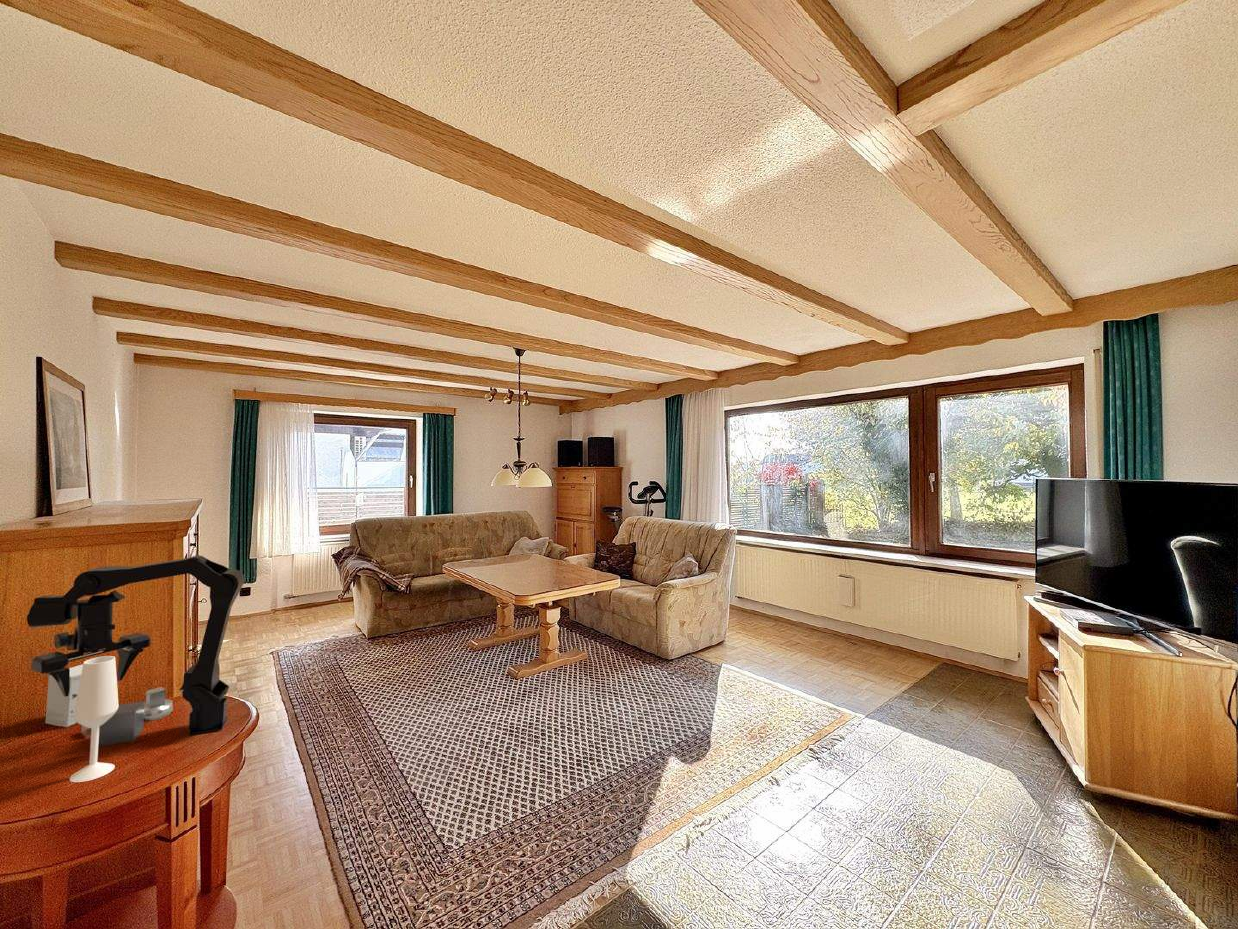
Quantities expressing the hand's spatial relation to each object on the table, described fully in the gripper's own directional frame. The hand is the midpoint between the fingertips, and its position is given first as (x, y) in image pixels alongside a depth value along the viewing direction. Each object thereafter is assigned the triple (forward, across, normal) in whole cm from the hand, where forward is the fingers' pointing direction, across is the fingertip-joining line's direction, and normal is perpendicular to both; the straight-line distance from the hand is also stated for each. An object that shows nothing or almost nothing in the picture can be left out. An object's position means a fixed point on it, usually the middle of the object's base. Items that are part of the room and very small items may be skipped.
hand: (93, 688), depth 116 cm
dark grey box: (+13, -4, +2) cm, 14 cm away
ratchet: (+13, -9, -5) cm, 17 cm away
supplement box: (+13, -4, -19) cm, 23 cm away
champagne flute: (+14, +5, +14) cm, 20 cm away
